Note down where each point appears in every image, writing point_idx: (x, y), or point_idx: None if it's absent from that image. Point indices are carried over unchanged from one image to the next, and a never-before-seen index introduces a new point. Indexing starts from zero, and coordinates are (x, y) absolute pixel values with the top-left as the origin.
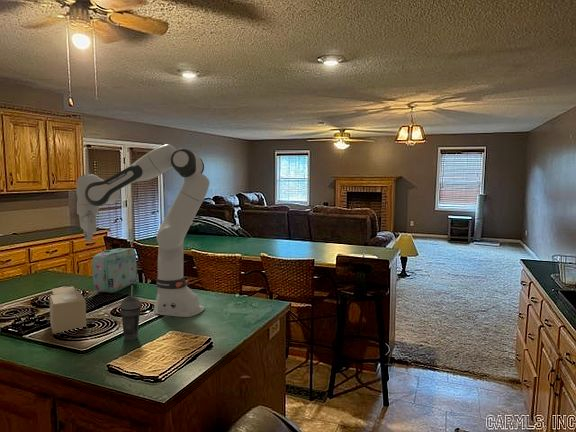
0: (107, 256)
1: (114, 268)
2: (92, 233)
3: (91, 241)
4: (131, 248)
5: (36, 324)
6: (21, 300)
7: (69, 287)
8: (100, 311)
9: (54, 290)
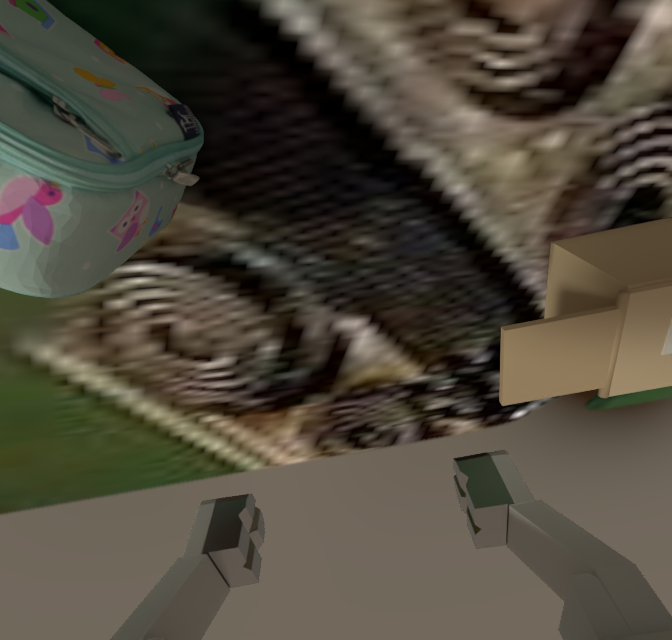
0: (71, 165)
1: (83, 85)
2: (647, 590)
3: (503, 452)
4: None
5: None
6: (232, 440)
7: (515, 344)
8: (485, 169)
9: (536, 393)
